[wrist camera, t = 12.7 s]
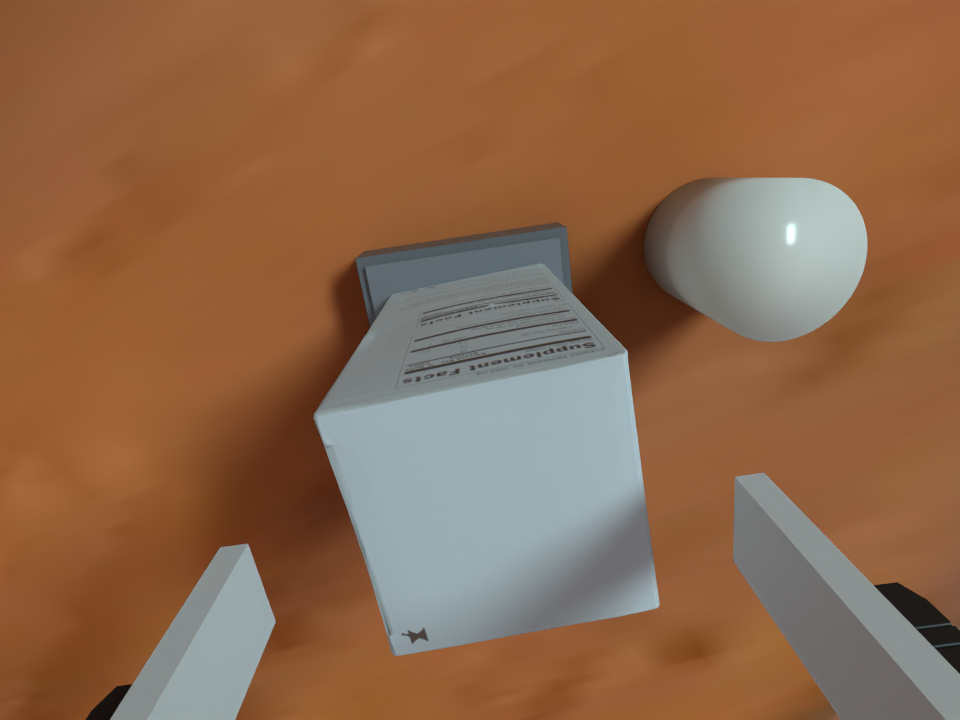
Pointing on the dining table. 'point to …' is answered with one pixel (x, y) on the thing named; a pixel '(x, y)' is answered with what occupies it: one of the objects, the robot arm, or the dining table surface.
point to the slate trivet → (460, 261)
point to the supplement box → (491, 463)
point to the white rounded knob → (758, 252)
